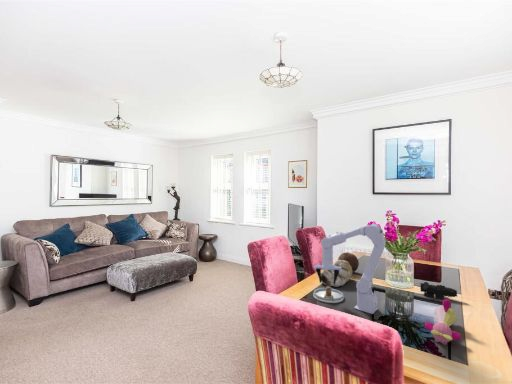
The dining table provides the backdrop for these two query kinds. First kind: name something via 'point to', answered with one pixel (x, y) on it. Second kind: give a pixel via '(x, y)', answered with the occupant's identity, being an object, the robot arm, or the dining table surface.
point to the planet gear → (328, 293)
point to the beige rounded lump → (342, 277)
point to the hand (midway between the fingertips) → (327, 282)
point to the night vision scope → (437, 291)
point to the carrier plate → (336, 294)
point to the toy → (444, 324)
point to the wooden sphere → (350, 260)
